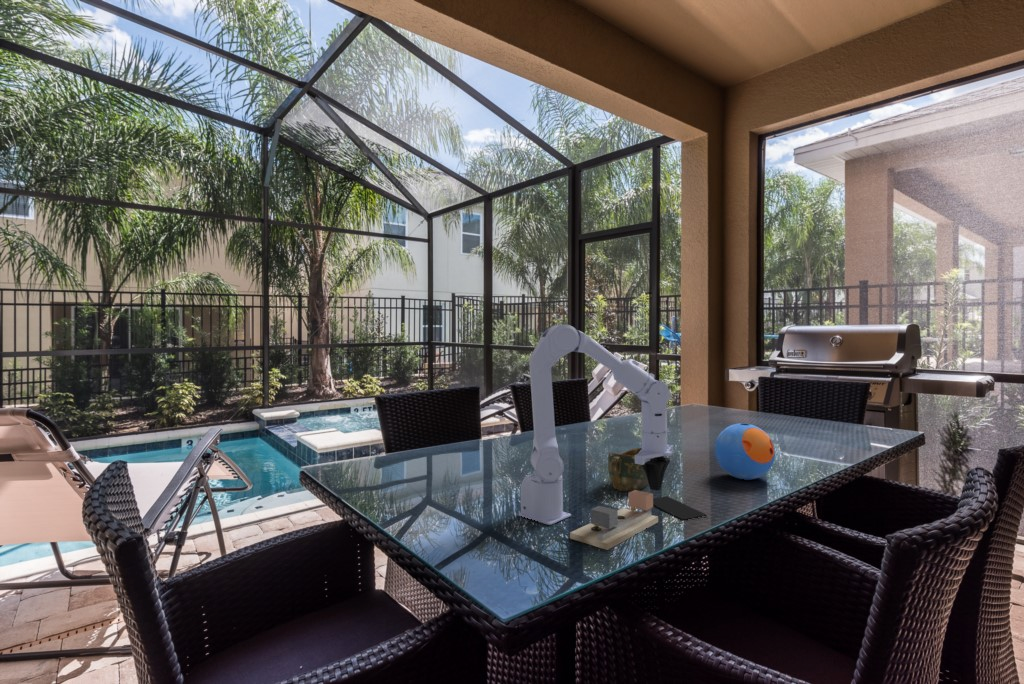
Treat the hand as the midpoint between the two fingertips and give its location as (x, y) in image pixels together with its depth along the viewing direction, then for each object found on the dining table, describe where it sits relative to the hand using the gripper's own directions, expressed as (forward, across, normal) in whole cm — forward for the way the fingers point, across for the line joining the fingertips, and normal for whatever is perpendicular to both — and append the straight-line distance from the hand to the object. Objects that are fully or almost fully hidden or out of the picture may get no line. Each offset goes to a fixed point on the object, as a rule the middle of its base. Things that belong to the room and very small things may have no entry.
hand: (655, 489), depth 126 cm
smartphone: (+6, +4, -2) cm, 8 cm away
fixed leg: (+4, -21, 0) cm, 21 cm away
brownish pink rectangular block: (+4, -7, 0) cm, 8 cm away
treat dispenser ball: (+6, +40, -5) cm, 41 cm away
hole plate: (+5, -16, +1) cm, 17 cm away
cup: (+5, +14, +16) cm, 22 cm away
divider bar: (+4, -16, -2) cm, 17 cm away
